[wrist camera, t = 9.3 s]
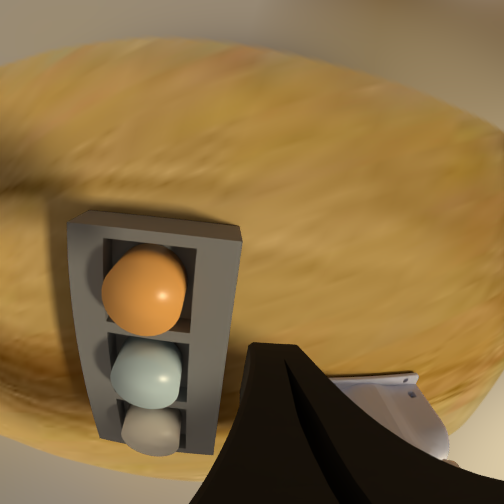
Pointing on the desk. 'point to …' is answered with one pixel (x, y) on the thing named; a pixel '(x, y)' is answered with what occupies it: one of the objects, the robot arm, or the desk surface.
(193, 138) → the desk surface
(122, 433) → the button ivory
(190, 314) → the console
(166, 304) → the button orange
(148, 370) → the grey rounded dome
